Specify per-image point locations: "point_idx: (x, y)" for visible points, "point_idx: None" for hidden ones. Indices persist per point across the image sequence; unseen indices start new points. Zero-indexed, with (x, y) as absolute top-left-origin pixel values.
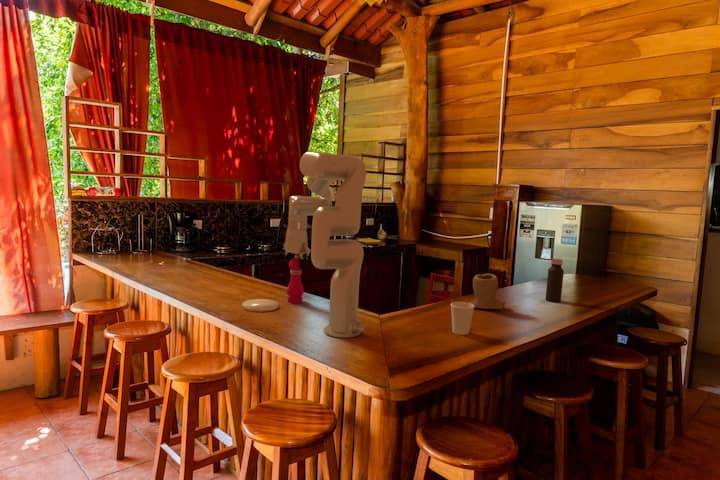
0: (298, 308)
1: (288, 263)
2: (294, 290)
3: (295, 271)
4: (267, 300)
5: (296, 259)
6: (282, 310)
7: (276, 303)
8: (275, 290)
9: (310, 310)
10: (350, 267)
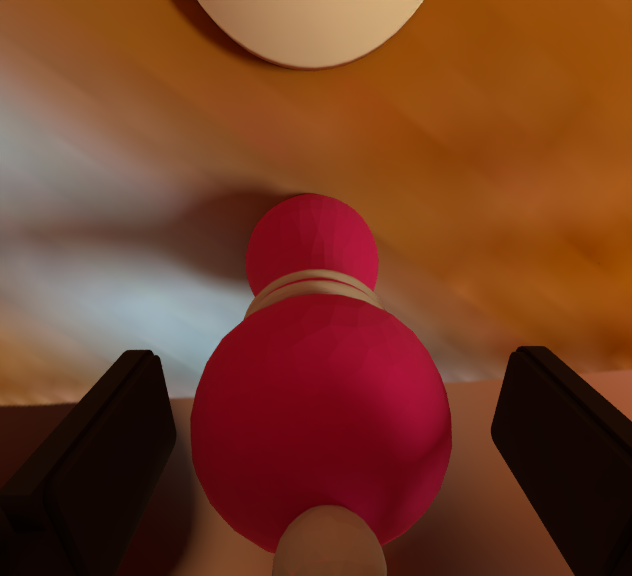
0: (147, 155)
1: (513, 387)
2: (259, 225)
3: (252, 309)
4: (359, 13)
5: (254, 479)
6: (139, 11)
7: (237, 19)
8: (602, 300)
9: (72, 191)
10: None
